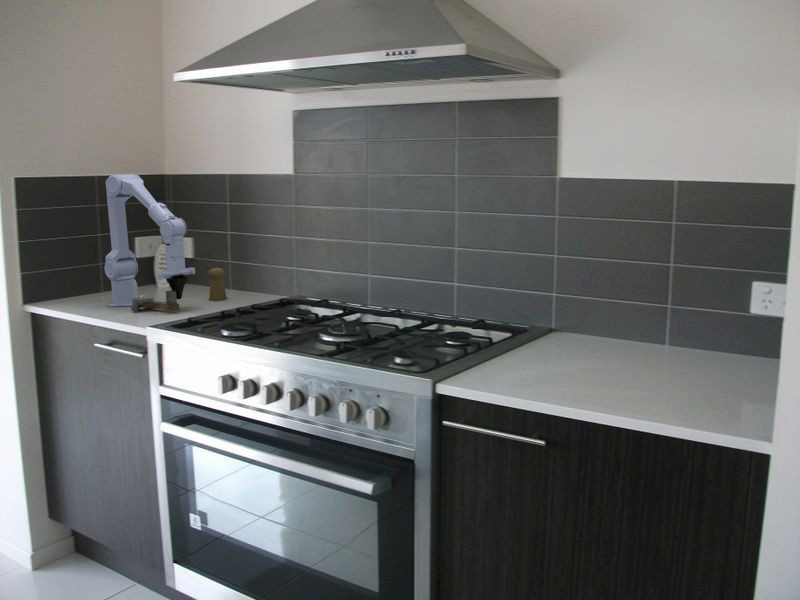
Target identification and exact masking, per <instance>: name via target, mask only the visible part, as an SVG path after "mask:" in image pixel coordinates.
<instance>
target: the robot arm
mask: <svg viewBox="0 0 800 600" xmlns="http://www.w3.org/2000/svg"><path fill="white" fill-rule="evenodd" d="M144 184H145V183H144V180H143V179H142V178H141V177H140V175H138V174H137V173H132V174H129V173H128V174H115V173H113V174H111V175H109V177H108V178H107V179H106V180H105V189H106V190H105V191H106V200H107V210H108V212H107V213H108V223H109V224H108V225H109V231H110V232H109V235H110V242H111V243H110V244H111V245H110V246H111V250H110V252H108V253H107V255H106V256H105V264H104V268H103V269H104V273H105V275H106V277H107V278H108V280H110V284H111V297H112V303H110V304H108V307H132V306H133V301H132V298H139V294H138V293H139V291H138V282H137V281H136V279H135V278H136V275H137V274H138V271H139V265H138V261H137V259H136V254H135V253H134V252H133V251H131V250H130V247H129V237H128V225H127V223H128V222H127V212H126V202H127V201H128V200H129V199H130V198H131V197H134V198H135V199H137V200H138V201H139V202H140V203H141V204H142V205H143V206H144V207H145V208H146V209H147V210H148V213H147V214H148V216H149V217H150V219H152V220H153V221H154V223H156V225H157V226H158V227H159V232H160V235H161V237H162V239H163V241H162V242H163V243H164V246H165V247H164V248H165V261H166V270H165V271H162V272H161V271H160V272H157V273H156V280H160V281H162V280H166V282H167V283H168V285H169V286H170V289H171V291H176V297H177V300H181V299H182V297H183V292H184V288H185V285H186V283H187V282H188V276H187V275H195V274H196V268H195V267H187V268H186V259H185V245H184V236H185V235H186V233H187V229H188V228H187V224H186V221H185V220H184V219H183V218H181V217H177V216H175V215H174V214H173V213H172V212H171V211H170V210H169V209H168V207H167V205H166V204H165V203H162V202H157V201H156V200H155V198H154V197H153V195H152V194H151V193H150V192H149V190H148V189H147V188H146V187H145V185H144Z"/></svg>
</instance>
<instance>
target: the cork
mask: <svg viewBox="0 0 800 600" xmlns="http://www.w3.org/2000/svg"><path fill="white" fill-rule="evenodd" d="M208 276H209V278H210V282H209V295H208V296H209V298H208V300H209V301H211V302H223V301H226V300H227V299H228V298H227V293H226V286H225V282H224V281H225V280H224V276H225V270H224V269H223V268H221V267H214V268H210V269H209V270H208Z"/></svg>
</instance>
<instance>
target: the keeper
mask: <svg viewBox="0 0 800 600" xmlns="http://www.w3.org/2000/svg"><path fill="white" fill-rule="evenodd" d="M132 301H133V310H132V313H133V314H135V313H138V311H137V303H140V302H154V301H155V300H154V297H153V296H150V297H149V296H147V297H145V298H139V297H138V298H132Z"/></svg>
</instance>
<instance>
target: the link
mask: <svg viewBox="0 0 800 600" xmlns="http://www.w3.org/2000/svg"><path fill="white" fill-rule="evenodd" d="M165 299H166V301H161V300H160V301H159V300H153V301H154V302H140V303H137V307H138V308H142V307H144V308H152V309H151V310H162V311H168V312H169V311H170V312H175V311H179V310H180V303H178V299H177V297H176V291H172V290H167V291H165Z"/></svg>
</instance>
